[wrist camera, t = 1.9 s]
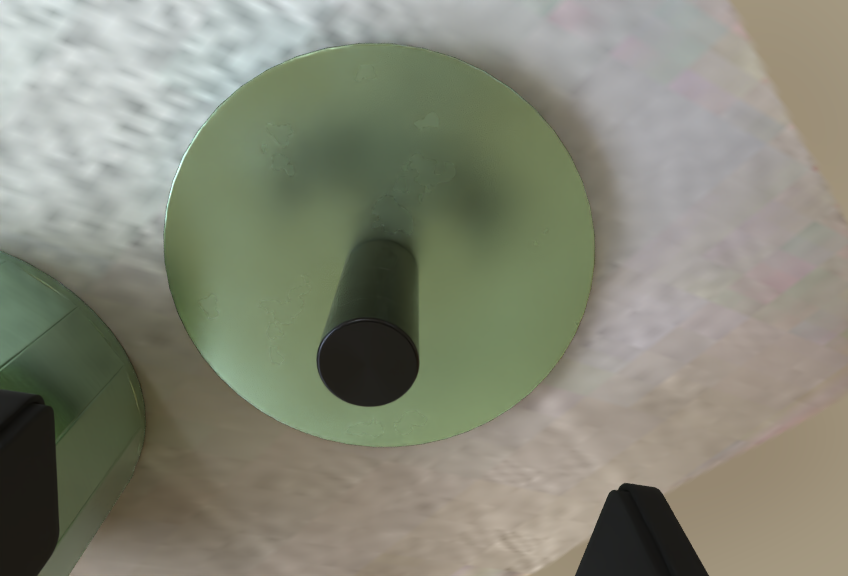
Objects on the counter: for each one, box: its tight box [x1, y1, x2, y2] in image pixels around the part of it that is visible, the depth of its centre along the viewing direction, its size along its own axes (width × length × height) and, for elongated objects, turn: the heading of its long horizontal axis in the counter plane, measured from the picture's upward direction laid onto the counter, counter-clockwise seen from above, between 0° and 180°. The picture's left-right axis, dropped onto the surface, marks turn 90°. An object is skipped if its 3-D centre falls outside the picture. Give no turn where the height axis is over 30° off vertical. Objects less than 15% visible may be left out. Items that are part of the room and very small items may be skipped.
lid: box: [163, 43, 595, 447], centre depth 16 cm, size 14×14×7 cm
